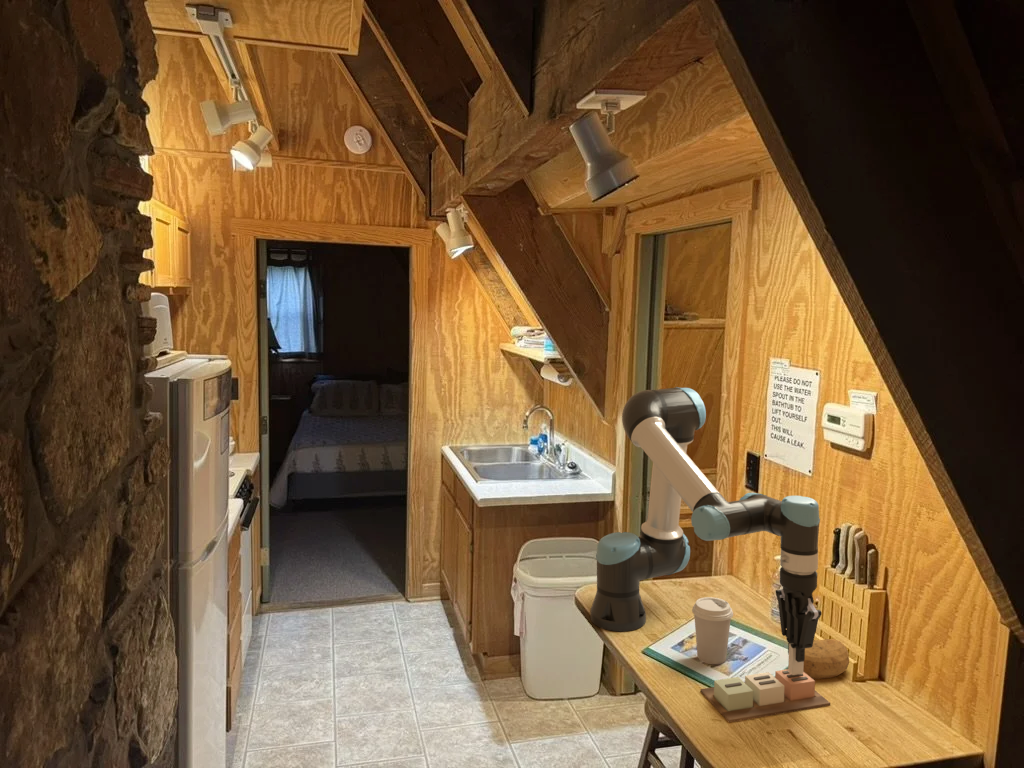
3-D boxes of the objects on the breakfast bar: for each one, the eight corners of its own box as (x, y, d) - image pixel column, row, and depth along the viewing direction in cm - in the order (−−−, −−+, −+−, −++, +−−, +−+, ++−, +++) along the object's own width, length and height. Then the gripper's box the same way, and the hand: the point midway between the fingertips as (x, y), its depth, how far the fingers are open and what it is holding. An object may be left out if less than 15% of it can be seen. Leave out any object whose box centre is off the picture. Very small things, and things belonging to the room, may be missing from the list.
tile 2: (744, 692, 157) (745, 674, 156) (768, 689, 158) (768, 670, 157) (759, 707, 151) (760, 688, 150) (783, 703, 152) (784, 684, 152)
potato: (779, 671, 168) (780, 639, 167) (828, 661, 172) (829, 629, 171) (808, 692, 159) (809, 658, 158) (859, 681, 163) (860, 648, 162)
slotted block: (714, 697, 155) (714, 679, 154) (737, 693, 156) (738, 675, 156) (728, 712, 149) (728, 693, 149) (752, 708, 151) (753, 689, 150)
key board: (700, 697, 158) (700, 689, 157) (795, 682, 163) (795, 674, 163) (728, 729, 146) (728, 720, 146) (830, 711, 152) (830, 702, 151)
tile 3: (774, 688, 158) (775, 669, 158) (797, 684, 160) (798, 666, 159) (790, 702, 153) (791, 683, 152) (814, 698, 154) (815, 679, 154)
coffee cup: (734, 674, 167) (735, 614, 165) (692, 671, 169) (693, 611, 167) (730, 654, 176) (731, 597, 174) (690, 651, 178) (691, 594, 176)
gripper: (765, 560, 158) (763, 660, 161) (802, 582, 146) (799, 690, 148) (795, 556, 160) (792, 656, 163) (834, 578, 147) (830, 685, 150)
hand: (795, 672), depth 155 cm, fingers closed
